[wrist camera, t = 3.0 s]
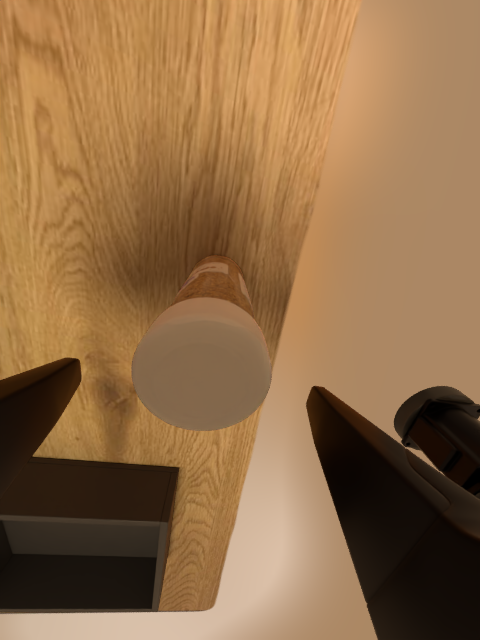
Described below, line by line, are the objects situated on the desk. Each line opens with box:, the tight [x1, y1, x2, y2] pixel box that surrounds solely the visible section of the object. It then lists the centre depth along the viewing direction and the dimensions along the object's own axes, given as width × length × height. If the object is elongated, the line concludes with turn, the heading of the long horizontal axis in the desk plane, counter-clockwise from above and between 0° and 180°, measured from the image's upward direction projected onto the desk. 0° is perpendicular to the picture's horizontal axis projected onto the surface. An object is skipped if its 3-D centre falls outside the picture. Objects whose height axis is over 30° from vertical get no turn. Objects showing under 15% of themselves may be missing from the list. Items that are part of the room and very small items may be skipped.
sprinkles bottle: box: [132, 255, 272, 431], centre depth 13 cm, size 5×5×13 cm
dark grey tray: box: [0, 457, 179, 612], centre depth 28 cm, size 22×20×6 cm
